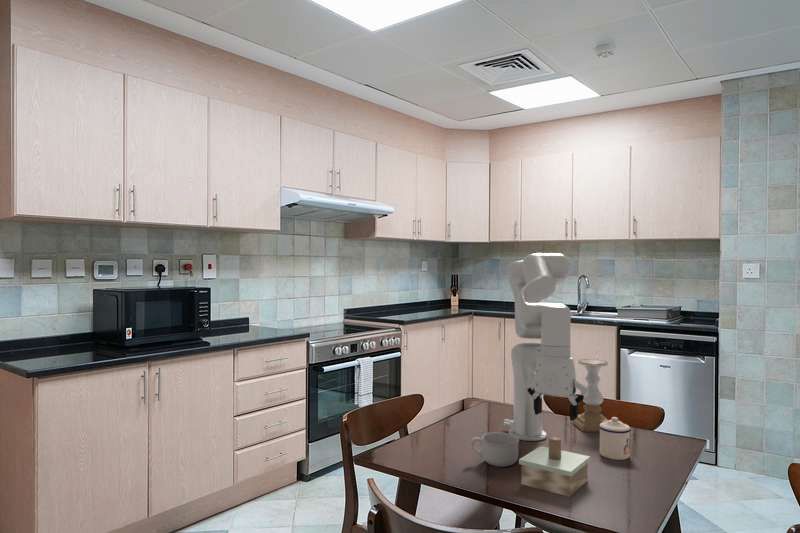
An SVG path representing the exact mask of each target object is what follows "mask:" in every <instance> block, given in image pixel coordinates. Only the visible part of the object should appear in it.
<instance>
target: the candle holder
mask: <svg viewBox="0 0 800 533" xmlns="http://www.w3.org/2000/svg"><path fill="white" fill-rule="evenodd" d="M577 364H579V365H581V366H584V368H585V369H586V371H587V375H586V376H585V378H584V379H585V381H586V383H587V386H586V387H587V388H588V389H589V391H588V393H587V395H586V397H585V399H583V400H582V401H583V403H585V404H584V405H583V410H584V412H582V413H581V414H579V413H578V417H577V419H575V420H573V421H572V425H574V426H575V427H577V429H579V430H580V431H581V432H587V433H597V432H598V433H600V428H599V425H600V424H601V423H602V422H607V421H609V420H610V419H607V418H606V417H605V416H604V415H603V414H602V413H600V412H602V407H601V404H602V403H603V402H604V396H603V394H602V391H601V390H600V389H599V387H598V384H599V382H600V381H601V378H600V376H599V371H600V370H601V367H606V366H608V364H609V362H608V361H606V360H603V359H598V358H597V359H596V358H582V359H581V358H580V359H578V360H577Z"/></svg>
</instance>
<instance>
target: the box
mask: <svg viewBox="0 0 800 533" xmlns="http://www.w3.org/2000/svg"><path fill="white" fill-rule="evenodd" d="M588 463H589V462H588ZM588 463H587V464H586V465H584V466H583V467H582V468H581V469H580V470H578V471H577V472H576V473H575V474H573V475H572V476H571V477H570V476H566V475H562V474H558V473H554V472H550V471H546V470H542V469H538V468H533V467H529V466H525V465H521V466H520V467H521V477H520V478H521V480H520V482H521V483H520V484H521V485H523V486H527V487H530V488H533V489H539V490H543V491H546V492H550V493H554V494H557V495H560V496H561V495H562V496H565V497H567V498H568V497H569V498H570V497H571V496H572V495H573V494H575V493H576V492H577V491H578V490H579V489H580V488H581V487H582V486H584V485H585V483H587V482H588V473H589V472H588V471H589V470H588Z"/></svg>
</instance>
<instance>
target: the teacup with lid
mask: <svg viewBox="0 0 800 533" xmlns="http://www.w3.org/2000/svg"><path fill="white" fill-rule="evenodd" d="M608 420H609V421H607V422H602V423H601V424H600V425H599V428H600V432H599V454H600V456H602V457H603V458H606V459H610V460H615V461H622V460H623V461H624V460H628V459H630V457H631V456H630V455H631V452H630V449H631V447H630V446H631V443H630V442H631V438H630V437H631V427H630V426H629V425H628V424H627V423H623V422H622V421H621V420H619V418H618V417H616V416H613V417H611V418H610V419H608Z"/></svg>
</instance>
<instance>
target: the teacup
mask: <svg viewBox="0 0 800 533" xmlns="http://www.w3.org/2000/svg"><path fill="white" fill-rule="evenodd" d="M475 442H479V445H480V447H481V450H479V449H477V448H476V446H475ZM519 442H520V440H519V439H518V438H517V437H516V436H514V435H512V434H509V432H502V431H501V432H500V431H494V432H493V431H492V432H487V433H486V432H485V433H484V434H483V435H482V437H478V436H475V437H472V438H471V439H470V447H471V449H472V451H473V452H475V453H476V454H478V455H479V456H480V457H481V459H483V460H484V461H485V462H486V463H487V464H489V465H490V466H493V467H497V468H499V467H500V468H504V467H510V466H512V465H514V464H515V463H516V462H517V460H518V458H519Z"/></svg>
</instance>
